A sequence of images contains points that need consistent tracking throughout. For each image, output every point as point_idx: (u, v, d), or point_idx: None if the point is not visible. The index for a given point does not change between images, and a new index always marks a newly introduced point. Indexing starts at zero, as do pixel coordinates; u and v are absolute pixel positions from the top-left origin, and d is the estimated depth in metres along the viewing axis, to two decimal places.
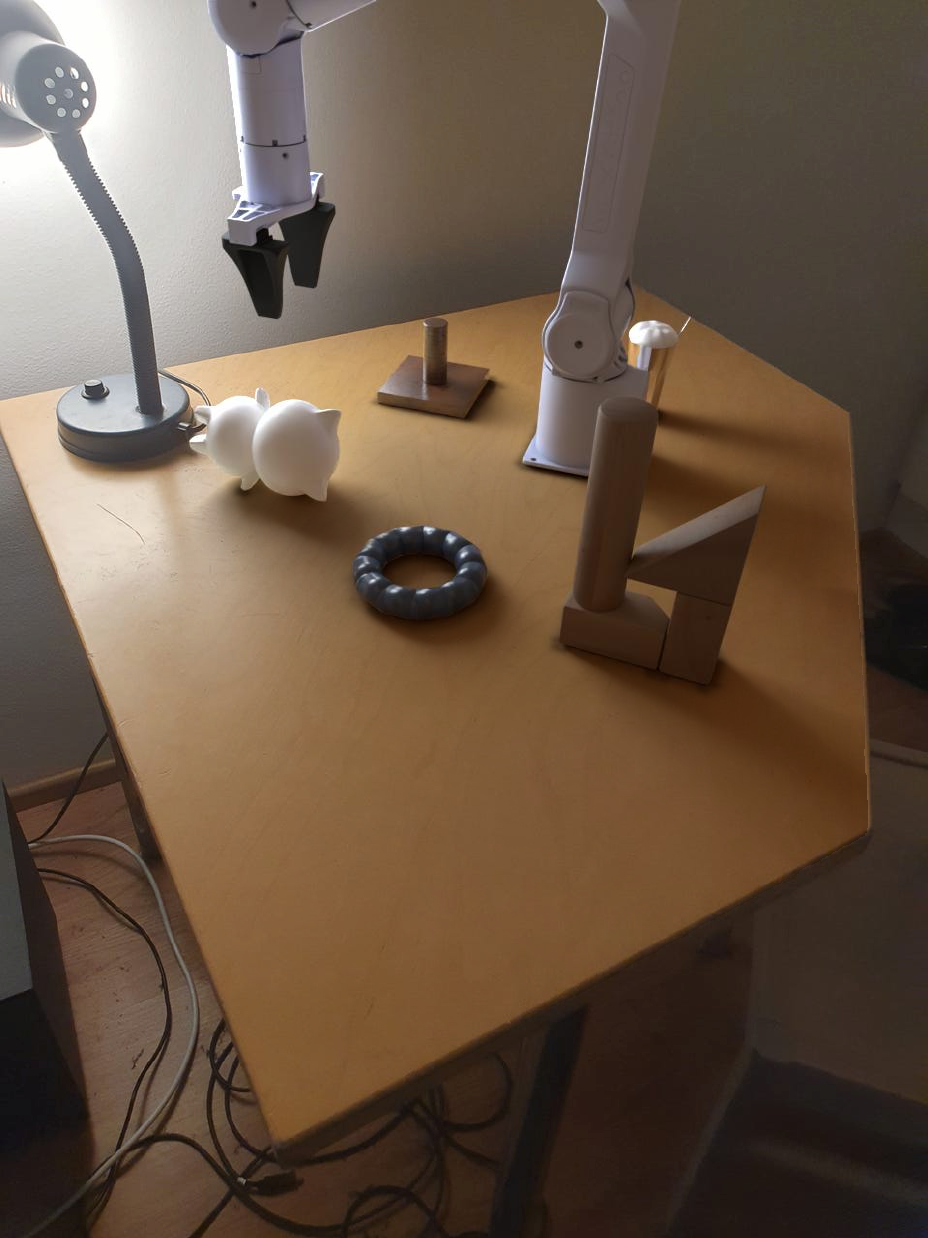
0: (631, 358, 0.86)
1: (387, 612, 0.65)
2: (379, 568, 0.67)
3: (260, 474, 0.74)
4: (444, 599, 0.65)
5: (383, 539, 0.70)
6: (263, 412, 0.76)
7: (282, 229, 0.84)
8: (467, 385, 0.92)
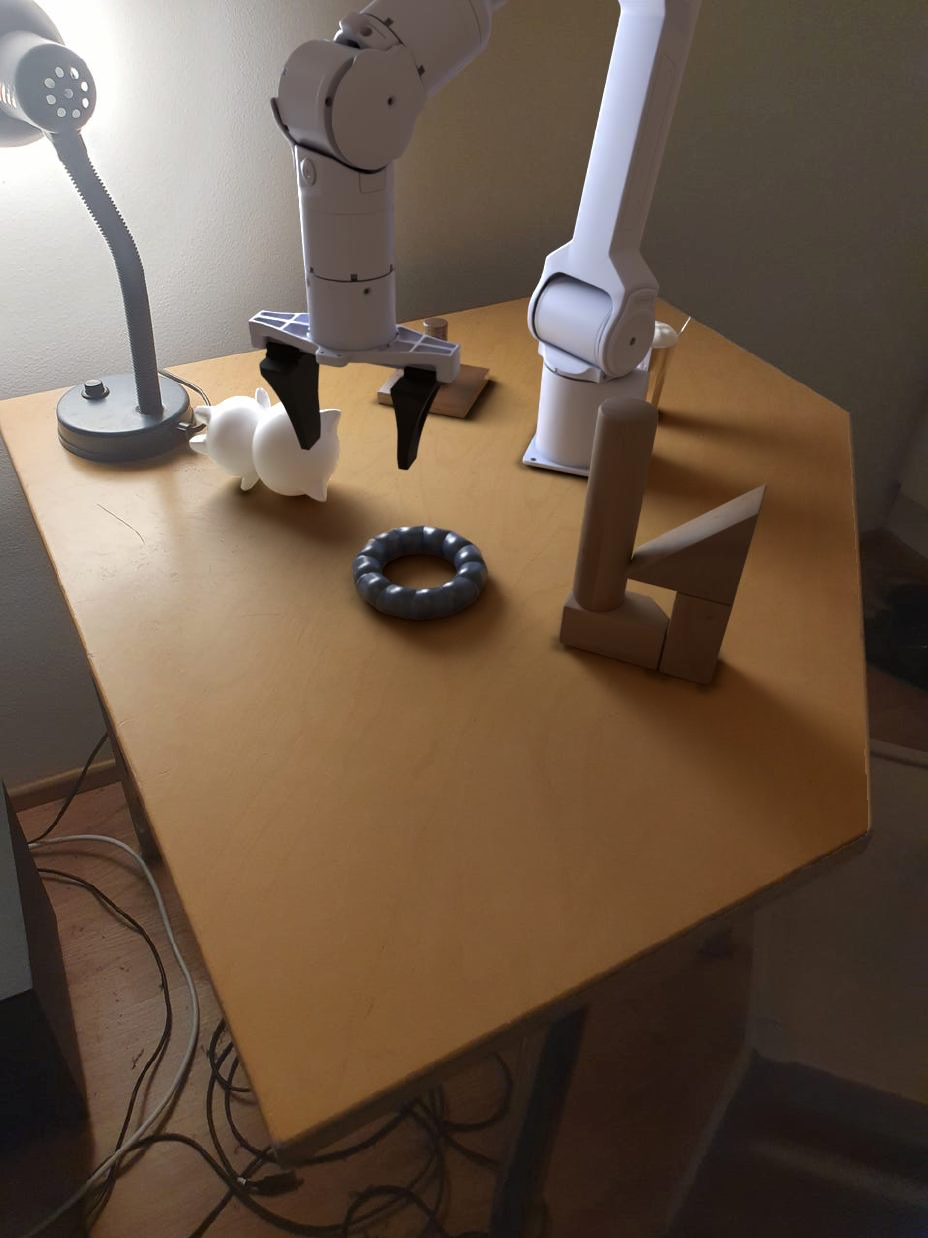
0: None
1: (387, 612, 0.65)
2: (379, 568, 0.67)
3: (260, 474, 0.74)
4: (444, 599, 0.65)
5: (383, 539, 0.70)
6: (263, 412, 0.76)
7: (295, 392, 0.63)
8: (467, 385, 0.92)
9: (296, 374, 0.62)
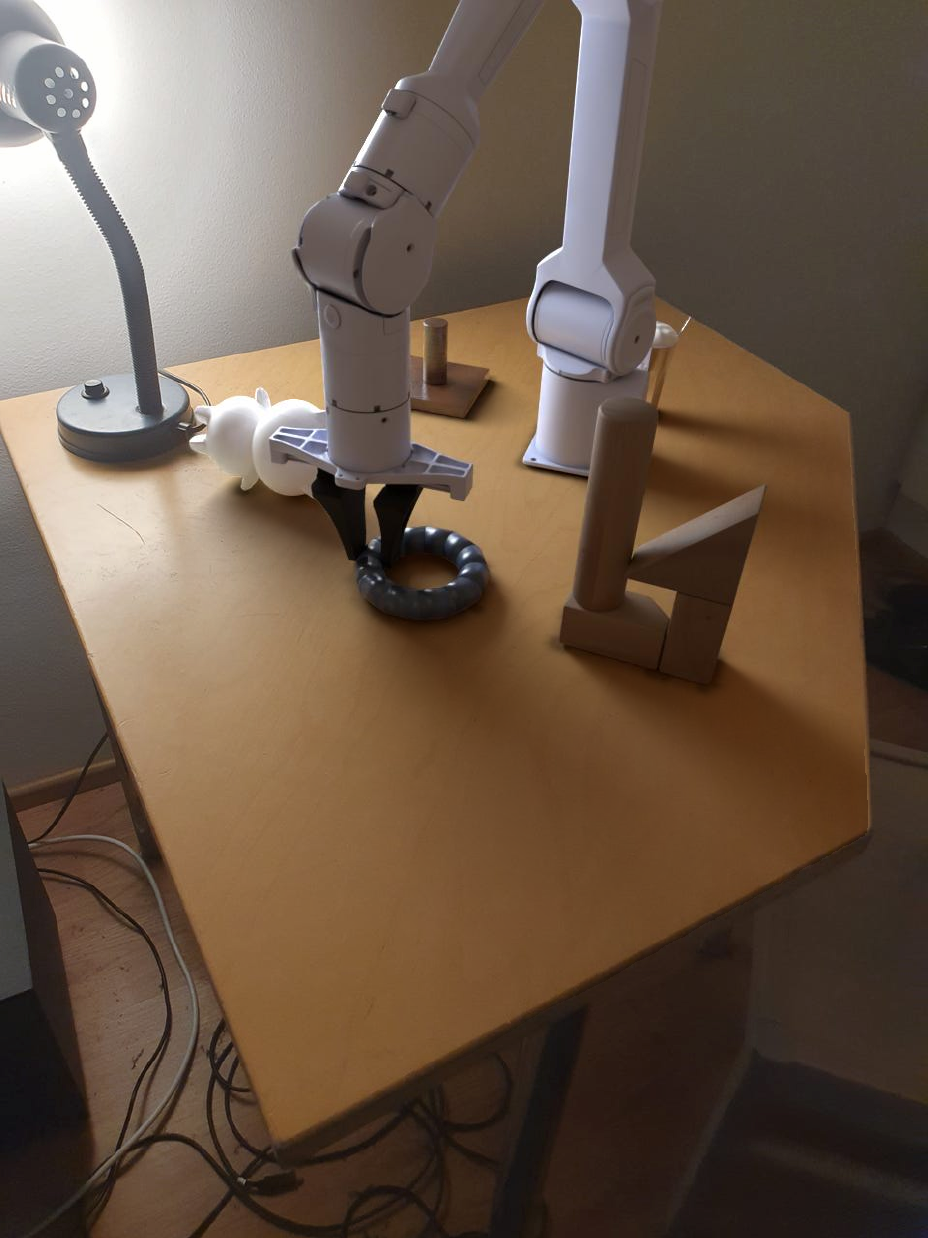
0: None
1: (389, 613, 0.65)
2: (381, 568, 0.67)
3: (260, 474, 0.74)
4: (446, 599, 0.65)
5: None
6: (263, 412, 0.76)
7: (345, 512, 0.65)
8: (467, 385, 0.92)
9: (346, 495, 0.64)
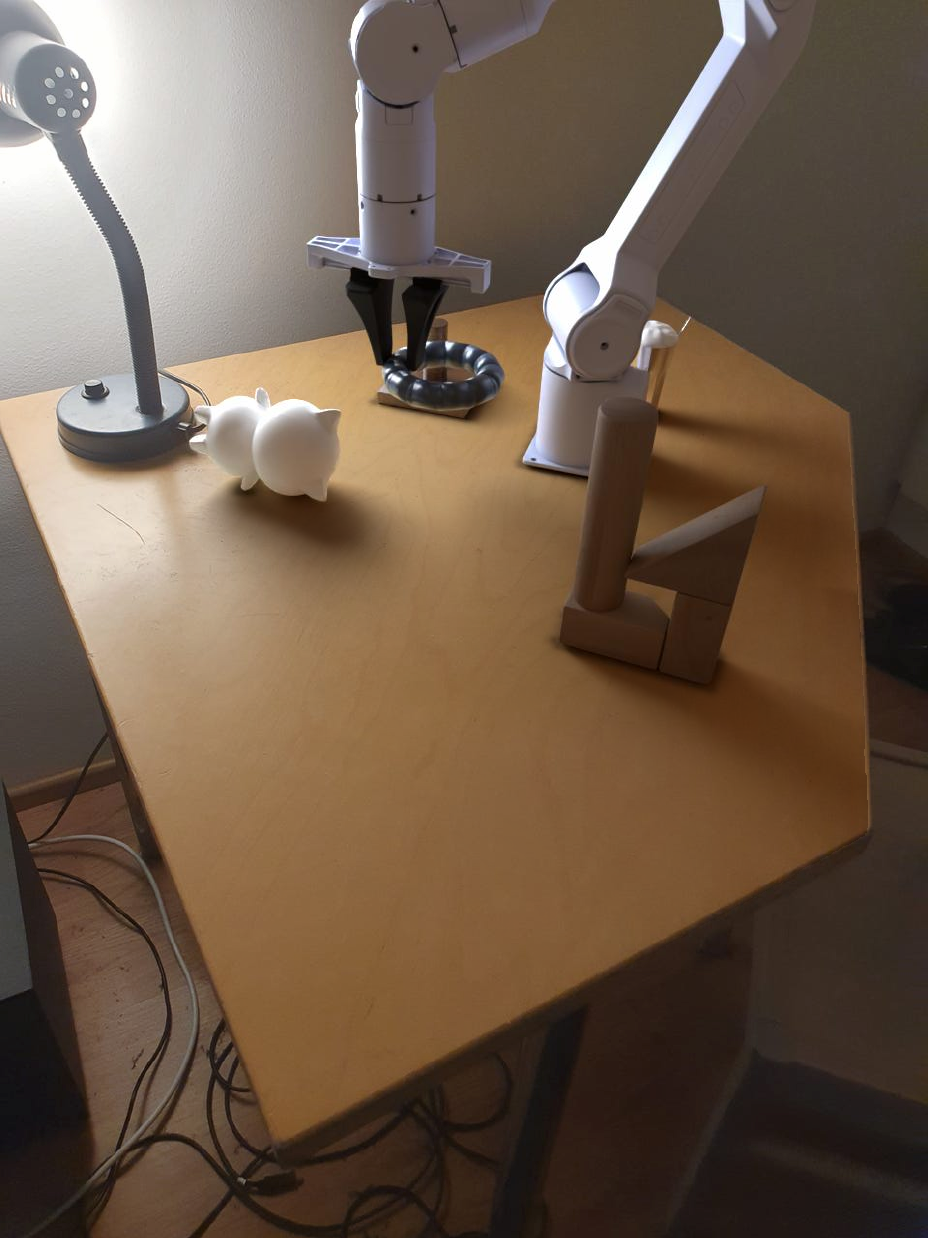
0: None
1: (415, 403, 0.73)
2: (407, 369, 0.75)
3: (260, 474, 0.74)
4: (467, 389, 0.72)
5: None
6: (263, 412, 0.76)
7: (376, 311, 0.72)
8: None
9: (376, 295, 0.72)
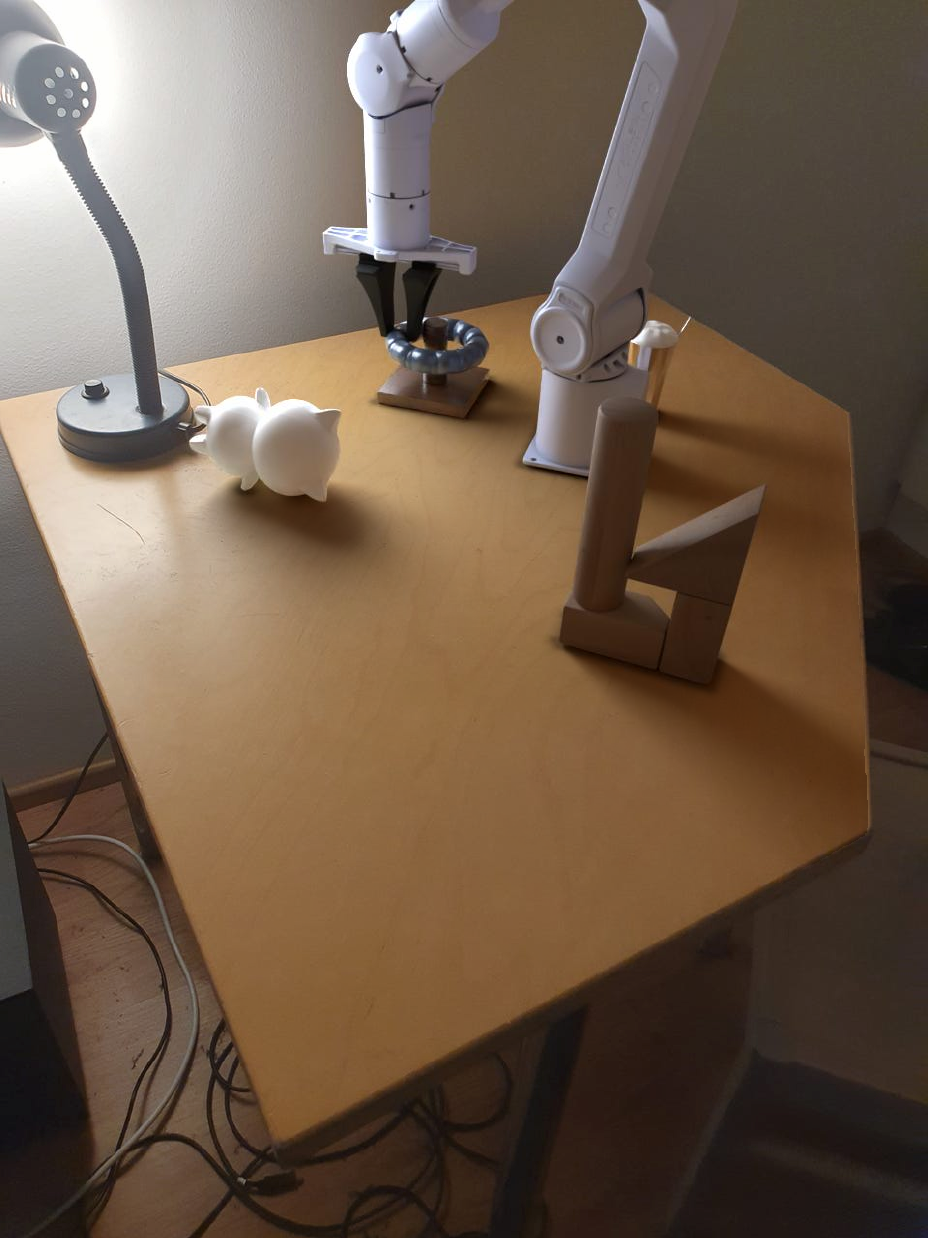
0: (631, 358, 0.86)
1: (414, 368, 0.86)
2: (407, 340, 0.89)
3: (260, 474, 0.74)
4: (457, 356, 0.86)
5: None
6: (263, 412, 0.76)
7: (380, 290, 0.86)
8: (467, 385, 0.92)
9: (381, 276, 0.85)
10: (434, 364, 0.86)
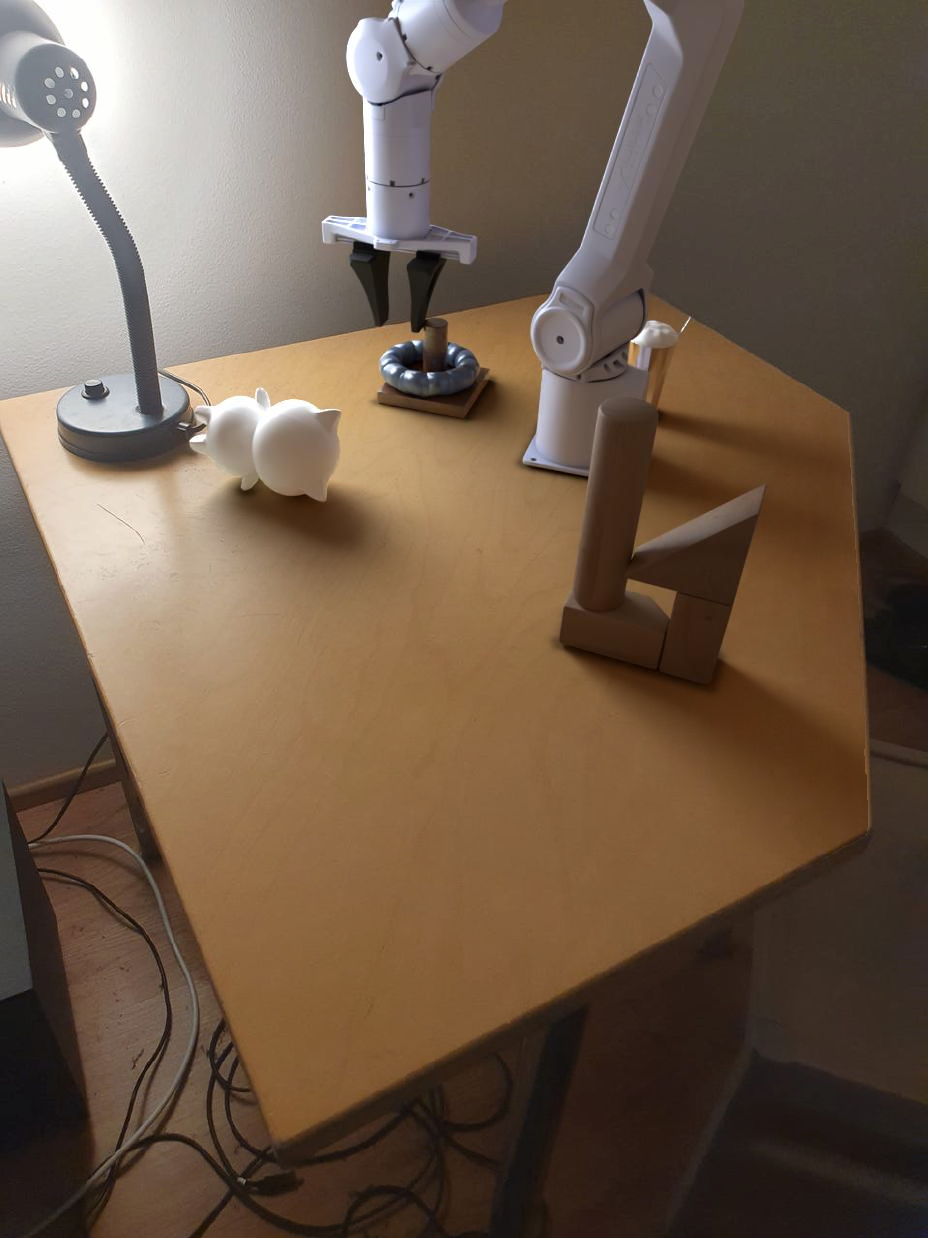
0: (631, 358, 0.86)
1: (406, 389, 0.89)
2: (399, 362, 0.91)
3: (260, 474, 0.74)
4: (448, 378, 0.88)
5: (401, 346, 0.93)
6: (263, 412, 0.76)
7: (374, 278, 0.85)
8: None
9: (375, 264, 0.85)
10: (425, 386, 0.88)
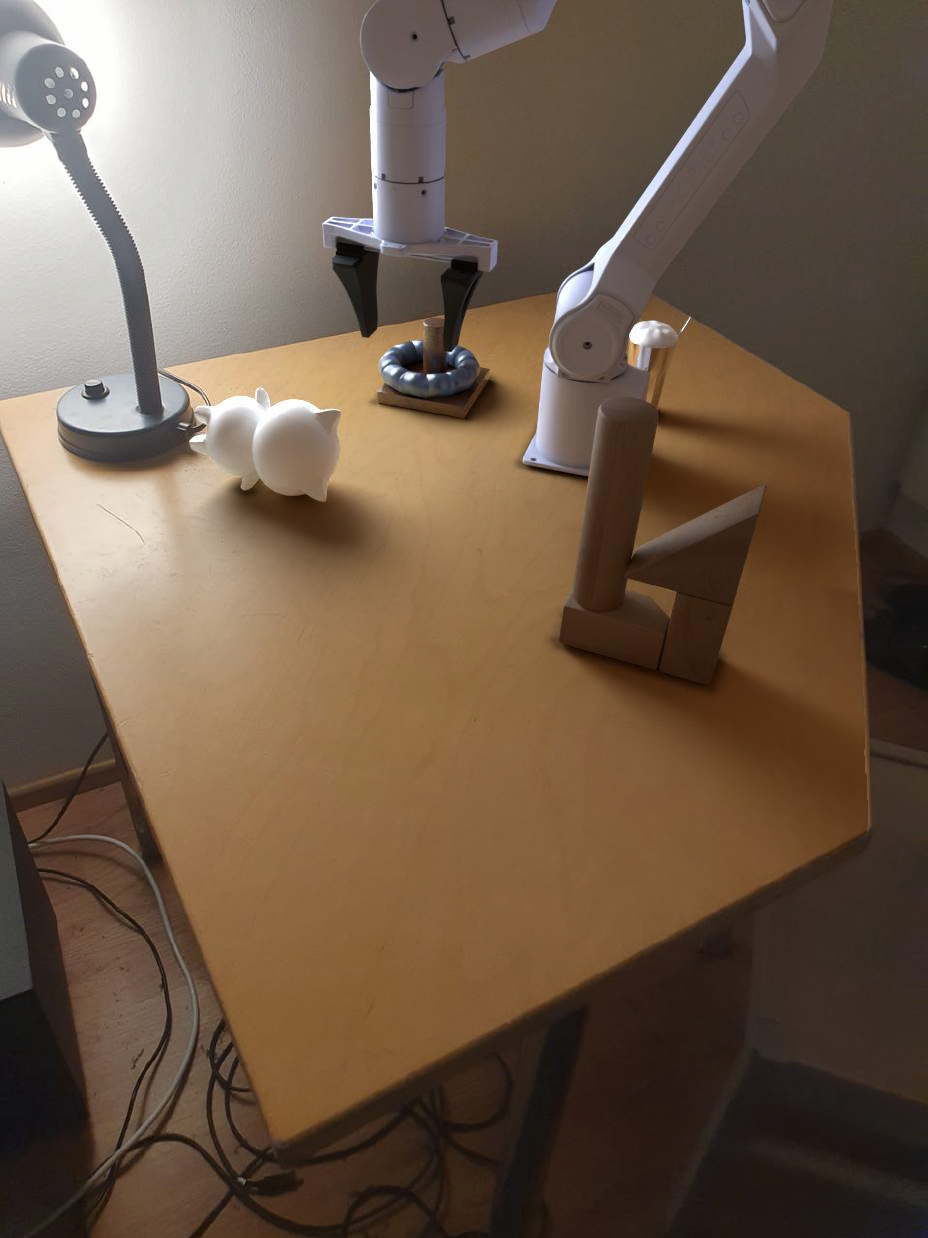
0: (631, 358, 0.86)
1: (406, 391, 0.89)
2: (399, 363, 0.91)
3: (260, 474, 0.74)
4: (448, 380, 0.88)
5: (401, 346, 0.93)
6: (263, 412, 0.76)
7: (360, 284, 0.76)
8: None
9: (361, 268, 0.76)
10: (425, 387, 0.88)
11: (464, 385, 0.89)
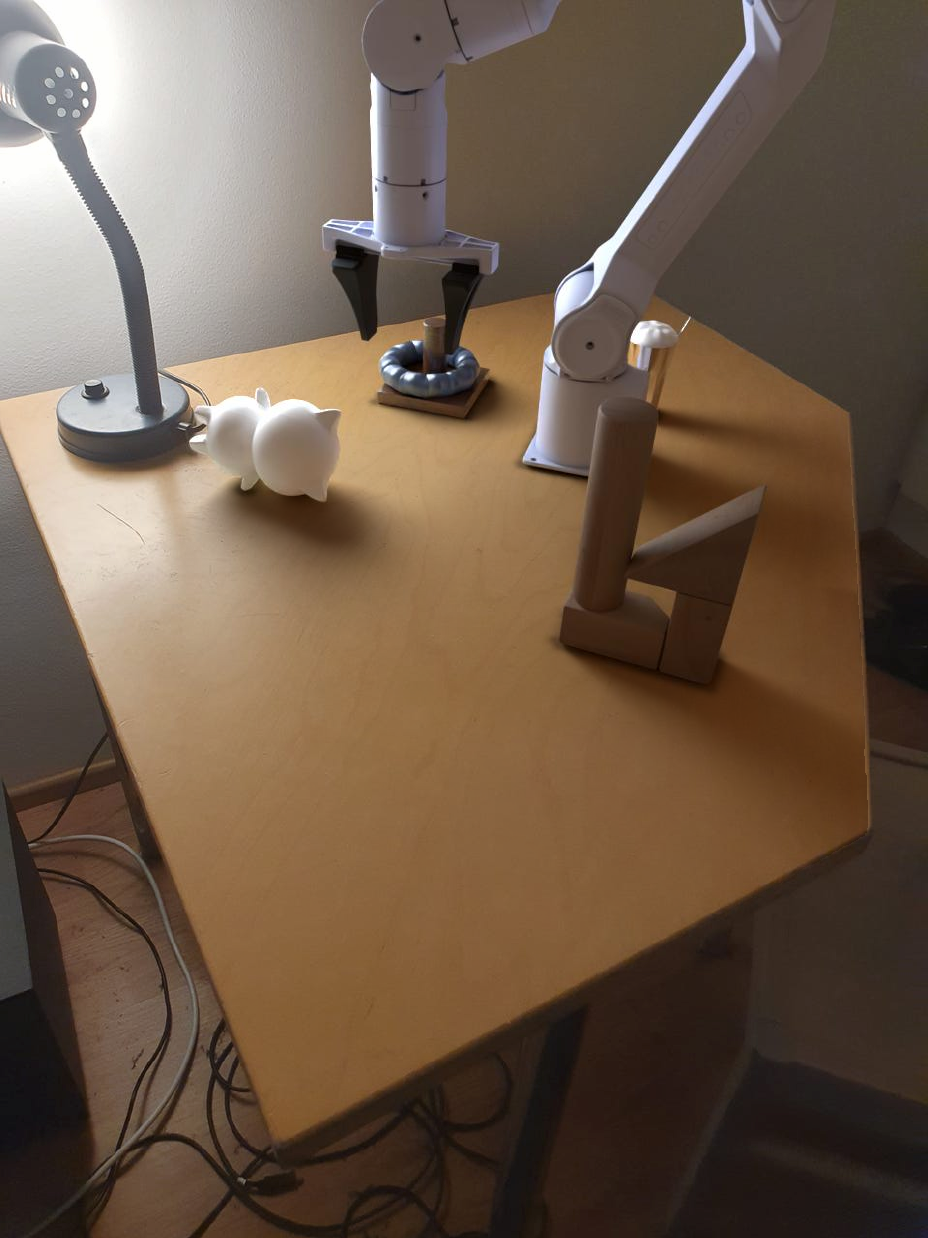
0: (631, 358, 0.86)
1: (406, 391, 0.89)
2: (399, 363, 0.91)
3: (260, 474, 0.74)
4: (448, 380, 0.88)
5: (401, 346, 0.93)
6: (263, 412, 0.76)
7: (360, 287, 0.76)
8: None
9: (361, 271, 0.75)
10: (425, 387, 0.88)
11: (464, 385, 0.89)
